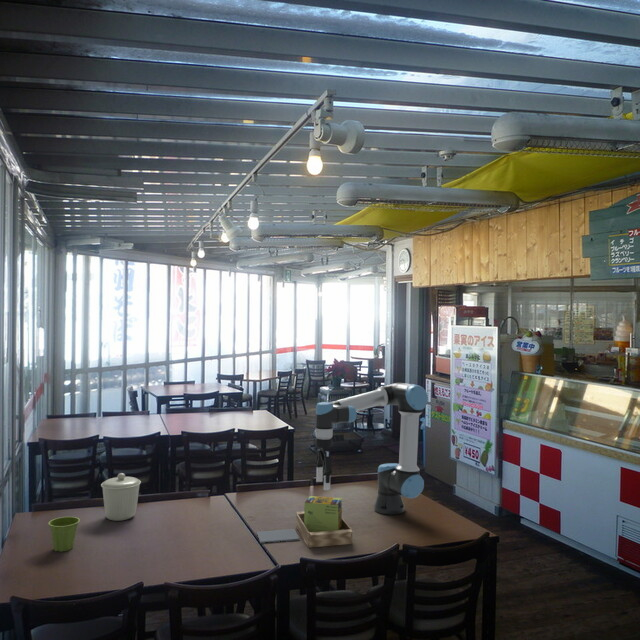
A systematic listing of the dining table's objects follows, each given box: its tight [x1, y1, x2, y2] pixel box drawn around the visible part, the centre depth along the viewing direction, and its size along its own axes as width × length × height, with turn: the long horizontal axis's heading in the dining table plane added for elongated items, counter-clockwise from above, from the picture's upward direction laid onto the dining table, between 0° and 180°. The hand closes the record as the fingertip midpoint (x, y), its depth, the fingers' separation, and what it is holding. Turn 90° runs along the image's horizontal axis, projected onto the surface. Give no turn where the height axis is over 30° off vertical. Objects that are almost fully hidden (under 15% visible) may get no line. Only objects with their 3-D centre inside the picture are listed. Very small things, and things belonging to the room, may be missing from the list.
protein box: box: [303, 495, 343, 533], centre depth 255 cm, size 10×15×16 cm
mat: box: [256, 528, 300, 544], centre depth 252 cm, size 17×12×1 cm
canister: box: [100, 472, 142, 522], centre depth 275 cm, size 18×18×21 cm
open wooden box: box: [295, 510, 353, 548], centre depth 255 cm, size 19×30×6 cm, turn 14°
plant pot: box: [48, 516, 81, 553], centre depth 236 cm, size 12×12×11 cm
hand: (323, 485), depth 255 cm, fingers open, 13 cm apart
